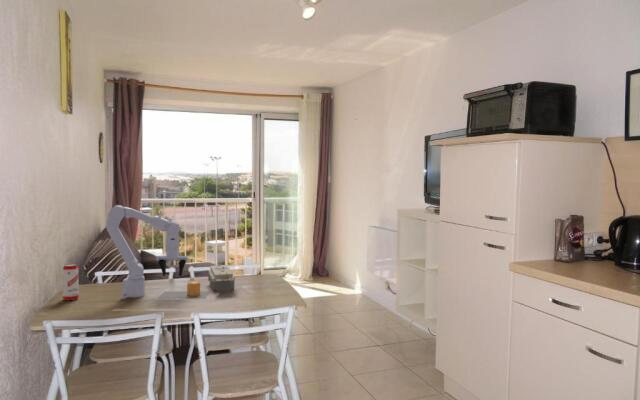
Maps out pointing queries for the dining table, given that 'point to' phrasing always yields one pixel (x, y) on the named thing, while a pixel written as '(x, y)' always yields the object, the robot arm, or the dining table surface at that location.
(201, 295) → the wiring board
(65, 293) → the beer can
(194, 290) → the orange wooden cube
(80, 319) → the dining table surface
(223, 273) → the gray toolbox
